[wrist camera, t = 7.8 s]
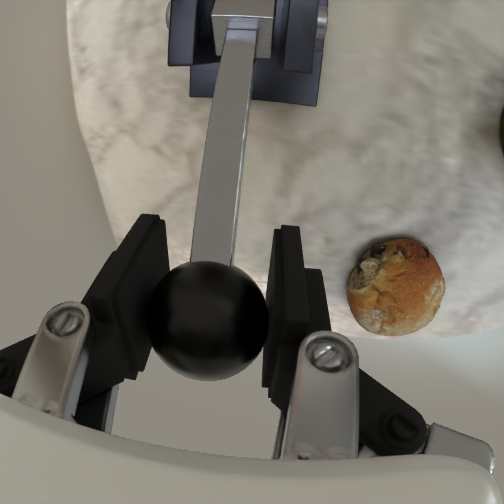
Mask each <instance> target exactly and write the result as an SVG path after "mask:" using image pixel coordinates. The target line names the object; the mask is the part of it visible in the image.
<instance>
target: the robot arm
mask: <svg viewBox="0 0 504 504" xmlns="http://www.w3.org/2000/svg"><path fill="white" fill-rule="evenodd" d="M168 272H170V267H169V257H168V247H167V236H166V225H165V220H163V219H160V217H159V215H155V214H141V215H140V216H139V218H138V219H137V221H136V222H135V223H134V225H133V226H132V228H131V229H130V231H129V232H128V234H127V235H126V237H125V238H124V240H123V241H122V243H121V244H120V246H119V247H118V249H117V250H116V251H113V252H112V254H111V255H110V257H109V258H108V259H107V261H106V263H105V264H104V266H103V267H102V269H101V271H100V272H99V274H98V275H97V277H96V278H95V280H94V281H93V283H92V285H91V286H90V288H89V290H88V291H87V293H86V295H85V296H84V298H83V300H82V301H81V303H79V302H74V301H71V302H64V303H60V304H58V305H56V306H54V307H53V308H52V309H50V311H48V312H47V314H46V315H45V317H44V318H43V320H42V322H41V325H40V327H39V329H38V332H37V334H35V335H33V336H31V337H28V338H26V339H24V340H22V341H20V342H17V343H16V344H13V345H11V346H9V347H7V348H4V349H2V350H0V504H503V502H502V499H501V496H500V492H499V489H498V487H497V485H496V483H495V481H494V479H493V478H492V474H493V469H494V465H495V456H494V453H493V450H492V448H491V447H490V446H489V444H487V443H485V442H484V441H482V440H479V439H476V438H473V437H471V436H468V435H465V434H462V433H459V432H457V431H454V430H452V429H449V428H447V427H444V426H441V425H439V424H436V423H433V424H432V425H429V424H426V423H425V421H424V419H423V417H422V415H421V414H420V413H419V412H418V411H417V410H416V409H414V408H413V407H412V406H410V405H409V404H407V403H406V402H405V401H403V400H402V399H401V398H399V397H398V396H396V395H395V394H394V393H392V392H391V391H390V390H388V389H387V388H386V387H384V386H383V385H381V384H380V383H379V382H377V381H376V380H375V379H373V378H372V377H371V376H369V375H368V374H367V373H365V372H364V371H363V370H361V369H360V368H359V357H358V352H357V349H356V348H355V346H354V344H353V343H352V342H351V341H350V340H349V339H348V338H347V337H345V336H343V335H341V334H339V333H336V332H332V331H331V324H330V318H329V311H328V305H327V299H326V293H325V288H324V282H323V276H322V272H321V270H320V269H311V268H304V260H303V252H302V244H301V236H300V228H299V226H290V225H281V229H274V235H273V243H272V251H271V259H270V267H269V275H268V283H267V290H266V300H265V301H266V305H267V309H268V329H267V337H266V341H265V344H264V346H263V367H262V387H265V388H268V398H271V402H272V403H273V404H275V405H276V406H277V407H278V408H279V409H280V415H279V420H278V426H277V431H276V437H275V442H274V447H273V452H272V457H271V459H258V458H244V457H233V456H224V455H214V454H207V453H200V452H193V451H186V450H181V449H174V448H169V447H164V446H159V445H154V444H149V443H144V442H140V441H136V440H132V439H127V438H124V437H120V436H116V435H112V434H111V431H112V424H113V418H114V412H115V406H116V399H117V394H118V389H119V383H121V382H123V381H124V379H125V378H126V379H131V380H136V377H137V374H138V371H141V372H143V371H144V369H145V366H146V363H147V360H148V357H149V354H150V351H151V348H152V345H151V342H150V340H149V337H148V333H147V327H146V312H147V306H148V302H149V299H150V296H151V294H152V292H153V290H154V288H155V287H156V285H157V284H158V283H159V281H160V280H161V279H162V278H163V277H164V276H165V275H166V274H167V273H168Z"/></svg>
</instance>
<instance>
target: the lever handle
mask: <svg viewBox="0 0 504 504" xmlns="http://www.w3.org/2000/svg"><path fill="white" fill-rule="evenodd" d="M276 6H277V0H214V2H213V5H212V9H211V12H210V22H211V28H212V35H213V41H214V48H215V54H216V55H217V56H221V59H220V64H219V69H218V74H217V79H216V84H215V90H214V95H213V101H212V106H211V112H210V118H209V124H208V130H207V136H206V142H205V149H204V155H203V162H202V169H201V176H200V183H199V190H198V197H197V205H196V213H195V221H194V229H193V238H192V247H191V256H190V262H186V263H184V264H181V265H179V266H177V267H176V268H174V269H172V270H171V271H170V272H168V273H167V274H166V275H165V276H164V277H163V278H162V279H161V280H160V281H159V283H158V284H157V285H156V287H155V288H154V290H153V292H152V294H151V296H150V299H149V302H148V306H147V312H146V327H147V333H148V337H149V340H150V342H151V345H152V347H153V348H154V350H155V352H156V354H157V355H158V356H159V358H160V359H161V360H162V361H163V362H164V363H165V364H166V365H167V366H168V367H169V368H171V369H172V370H173V371H175V372H177V373H178V374H180V375H182V376H184V377H187V378H191V379H194V380H199V381H217V380H223V379H226V378H229V377H232V376H234V375H236V374H238V373H240V372H241V371H243V370H244V369H246V368H247V367H248V366H249V365H250V364H251V363H252V362H253V361H254V360H255V359H256V358H257V356H258V355H259V353H260V352H261V350H262V348H263V346H264V344H265V341H266V337H267V329H268V309H267V305H266V301H265V299H264V296H263V294H262V292H261V290H260V289H259V287H258V286H257V284H256V283H255V282H254V281H253V280H252V278H251V277H250V276H249V275H247V274H246V273H245V272H244V271H242V270H241V269H239V268H238V267H236V266H234V265H233V263H234V252H235V242H236V233H237V223H238V213H239V204H240V194H241V185H242V176H243V167H244V158H245V149H246V140H247V131H248V122H249V114H250V105H251V97H252V89H253V80H254V72H255V64H256V57H258V58H271V57H272V50H273V39H274V28H275V17H276Z"/></svg>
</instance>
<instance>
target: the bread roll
mask: <svg viewBox="0 0 504 504" xmlns="http://www.w3.org/2000/svg"><path fill="white" fill-rule="evenodd" d="M444 292H445V282H444V278H443V275H442V272H441V269H440V267H439V265H438V263H437V262H436V260H435V258H434V256H433V255H432V254H431V253H430V251H429V249H428V248H427V247H426V246H425V245H424V244H422V243H419V242H416V241H414V240H411V239H394V240H391V241H388V242H385V243H383V244H379V245H373V246H372V247H371V249H369V250H368V251H367V252H366V253H365V255H364V256H363V257H362V258H361V259H360V260H359V261H358V264H357V267H356V268H355V270H354V271H353V273H352V274H351V277H350V280H349V284H348V287H347V297H348V303H349V306H350V309H351V312H352V314H353V316H354V318H355V319H356V321H357V322H358V323H359V325H360V326H362V327H363V328H364V329H365V330H367V331H369V332H371V333H375V334H378V335H384V336H403V335H407V334H410V333H413V332H415V331H417V330H419V329H421V328H423V327H425V326H426V325H427V324H428V323H429V322H430V321H432V320H433V318H434V316H435V314H436V313H437V311H438V309H439V307H440V303H441V300H442V298H443V295H444Z"/></svg>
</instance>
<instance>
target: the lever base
mask: <svg viewBox="0 0 504 504" xmlns="http://www.w3.org/2000/svg"><path fill="white" fill-rule="evenodd" d="M213 2H214V0H171V1H170V2H169V4H168V6H167V10H166V23H167V27H168V29H169V40H168V66H170V67H171V66H190V94H189V96H190V97H209V98H213V95H214V90H215V84H216V79H217V74H218V69H219V64H220V59H221V56H217V55H216V54H215V48H214V41H213V35H212V28H211V22H210V12H211V9H212V5H213ZM327 8H328V0H277V6H276V17H275V28H274V39H273V50H272V57H271V58H258V57H256V64H255V72H254V80H253V89H252V97H251V100H261V101H272V102H282V103H291V104H299V105H307V106H314V107H316V105H317V97H318V90H319V82H320V73H321V65H322V56H323V47H324V38H325V33H326V29H327V22H328V11H327Z"/></svg>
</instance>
